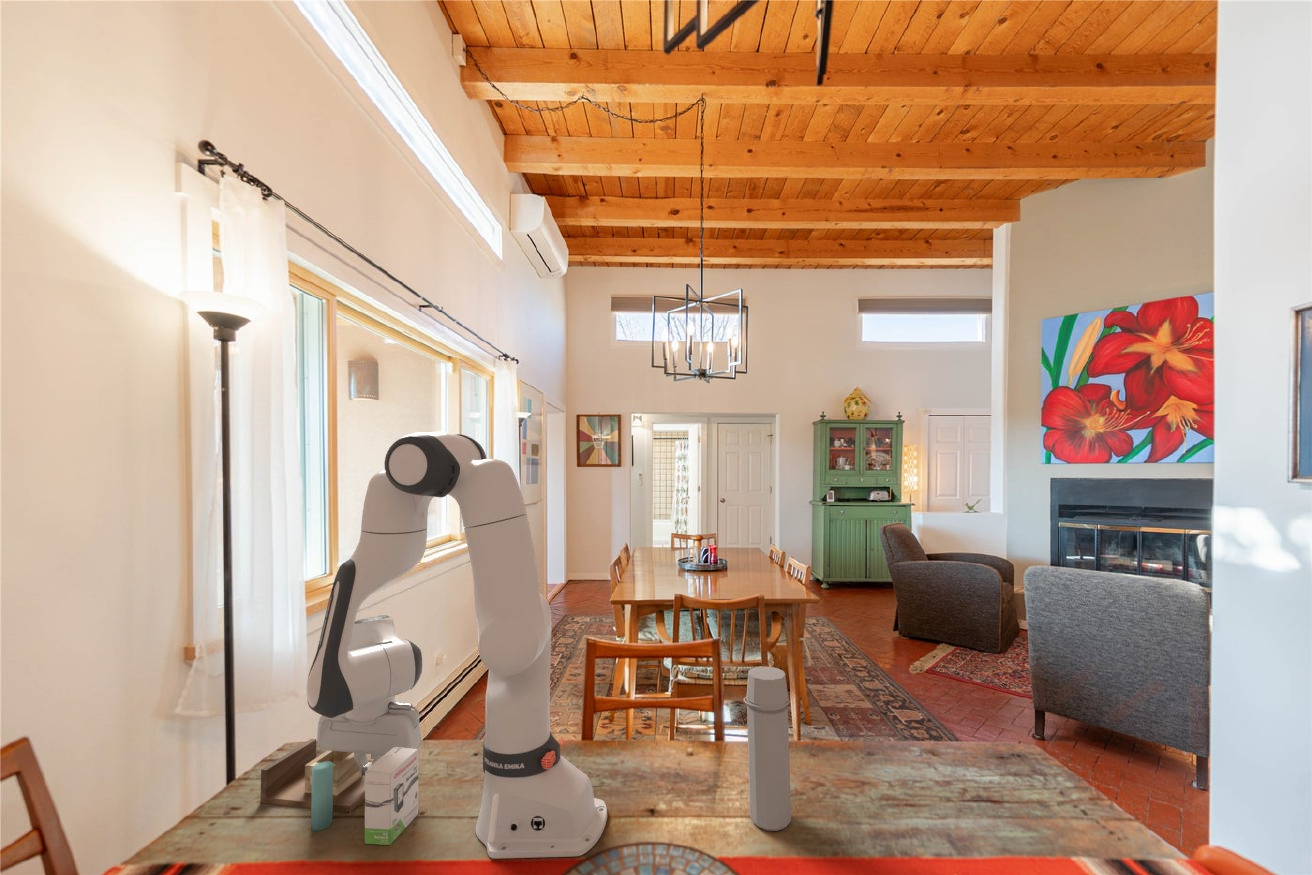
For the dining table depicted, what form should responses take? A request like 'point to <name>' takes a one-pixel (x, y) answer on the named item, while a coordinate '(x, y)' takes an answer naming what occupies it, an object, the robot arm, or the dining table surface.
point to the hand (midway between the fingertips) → (369, 774)
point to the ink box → (391, 795)
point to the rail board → (302, 782)
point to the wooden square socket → (335, 770)
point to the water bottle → (768, 748)
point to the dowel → (322, 796)
